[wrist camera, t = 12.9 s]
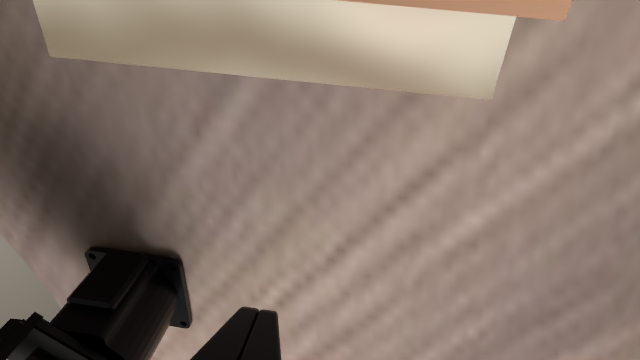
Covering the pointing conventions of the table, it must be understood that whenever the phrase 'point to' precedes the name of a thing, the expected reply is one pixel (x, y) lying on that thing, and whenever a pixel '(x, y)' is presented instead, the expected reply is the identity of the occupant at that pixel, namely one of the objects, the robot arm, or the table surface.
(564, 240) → the table surface
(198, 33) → the post board
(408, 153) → the table surface
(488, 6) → the peach rectangular block
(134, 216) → the table surface
